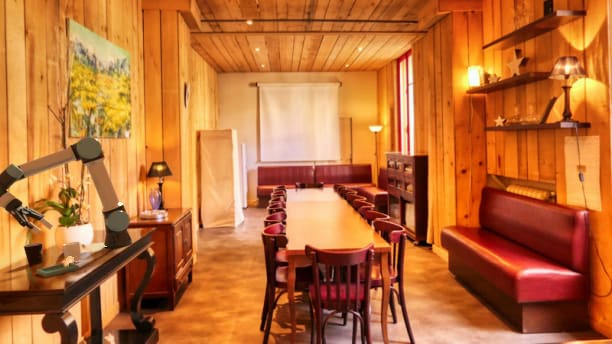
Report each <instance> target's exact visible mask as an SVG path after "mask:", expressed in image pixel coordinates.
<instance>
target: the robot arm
mask: <svg viewBox="0 0 612 344" xmlns="http://www.w3.org/2000/svg"><path fill="white" fill-rule="evenodd" d="M102 146H103V145H102V144H101V142H100V140H99V139H97V138H95V137H93V136H85V137H82V138H80V139H79V140H78V141H77V142H75V143H73V144H70V145H68V147H67V148H64V149H62V150H59V151H55V152H53V153H50V154H47V155H45V156H42V157H39V158H36V159H34V160H33V159H32V160H31V161H28V162H27V161H26V162H25V163H21V164H19V165H15V164H14V163H10V164H9V165H8V166H7V167H5V168H4V170H3V171H2V172H1V173H0V207H1V208H2V209H4V210H5V211H6V213H9V214H10V215H11V216H12V217H13V218H14V219H15V220H16V222H17V223H18V224H19V225H20V227H22V228H25V227H26V228H28V229H29V230H30V231H32V232H33V233H34V234H35V235H38V234H40V233H41V231H42V229H40V227H38V226H36V225H35V224H34V223H33V222H31V221H29V220H28V217H29V218H31V219H34V220H36V221H39V223H40V224H42V225H43V226H45V227H46V228H47V229H48V230H51V229H52V228H53V227H54V224H53V223H51V222H50V221H49V220H48V219H46V218H45V215H44V214H42V213H40V212H38V211H36V210H35V209H33V208H31V207H29V206H28V205H26V206H23V201H21V200H20V198H17V197H16V195H13V194H12V193H11V192H9V189H10V187H12V186H13V185H14V184H15V183H16V182H19V181H22V180H24V179H26V178H29V177H32V176H36V175H39V174H41V173H43V172H46V171H50V170H52V169H54V168H58V167H60V166H63V165H65V164H68V163H72V162H79V161H81V163H82V165H83V166H85V167H86V168H87V170H88V172H89V176H90V177H91V180H92V182H93V185H94V187H95V190H96V192H97V195H98V197H99V200H100V202H101V205H102V207H103V208H102V210H101V212H102V216H103V221H104V227H105V229H104V230H105V237H104V242H103V243H104V244H103V246H104V245H105V246H107V247H109V248H108V249H115V248H116V249H117V248H120V247H121V248H123V247H126V246H129V245H132V243H133V239H132V237H131V235H130V233H129V232H128V227H129V225H130V222H131V218H130V215H129V213H127V209H126V207H125V206H124V203H122V202H120V200H119V198H118V195H117V193H116V189H115V188H114V184H113V183H112V180H111V177H110V175H109V172H108V170H107V167H106V165H105V162H104V161H105V159H106V156H105V154H104V152H103V149H102Z"/></svg>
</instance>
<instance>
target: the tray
mask: <svg viewBox="0 0 612 344" xmlns="http://www.w3.org/2000/svg"><path fill="white" fill-rule="evenodd" d="M63 263H64V262H63ZM63 263H59V264H53V265H51V266H47V267H42V268H39V269H36V271H37V275H39V276H42V277H44V278H48V279H49V278H51V277H55V276H56V277H57V276H60V275H63V274H67V273H71V272H74V271H79V270H80V268H79V267H80V266H79V264H77V263H75V264H73V263H69V267H62V266H63Z"/></svg>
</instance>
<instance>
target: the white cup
mask: <svg viewBox="0 0 612 344" xmlns="http://www.w3.org/2000/svg"><path fill="white" fill-rule="evenodd" d="M62 250H63V251H62V252H63V255H64V259H65V260H66V258H67V257H68V256H72V257H74V260H75V261H79V260H81V259H82V258H81V257H82V255H81V254H82V253H81V242H80V241H72V242H67V243H63V244H62Z"/></svg>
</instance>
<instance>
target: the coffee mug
mask: <svg viewBox="0 0 612 344" xmlns="http://www.w3.org/2000/svg"><path fill="white" fill-rule="evenodd" d="M23 248H24V249H23V250H24V253H25V256H26V259H27V263H28V265H29V266H33V265H38V264H42V263H43V262H44V261H43V260H44V259H43V258H44V257H43V254H44V253H43V242H34V243H28V244H26V245H23Z"/></svg>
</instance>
